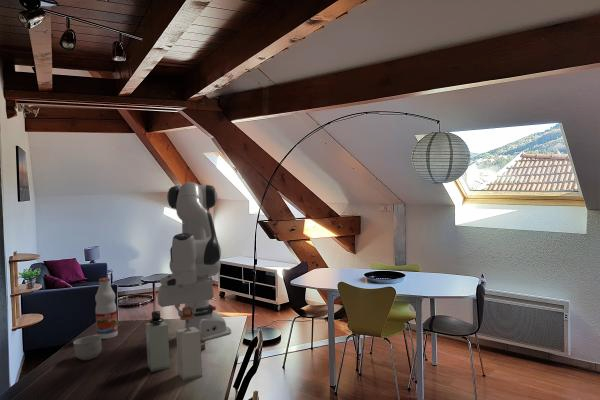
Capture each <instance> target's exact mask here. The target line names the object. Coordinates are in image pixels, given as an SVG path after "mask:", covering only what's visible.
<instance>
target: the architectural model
mask: <svg viewBox="0 0 600 400" xmlns="http://www.w3.org/2000/svg"><path fill="white" fill-rule="evenodd" d="M200 342H201V350H206V345H207V343H206V340H205V339H203V333H200Z"/></svg>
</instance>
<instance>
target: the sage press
mask: <svg viewBox="0 0 600 400" xmlns="http://www.w3.org/2000/svg"><path fill="white" fill-rule="evenodd" d="M145 335H146V336H145V341H146V357H147V358H146V359H147V368H148V369H149V370H150V372H152V373H153V372H157V371H158V372H159V371H161V370H162V371H163V370H167V369H170V368H171V365H170V364H171V363H170V361H171V360H170V344H169V343H170V342H169V325H168V323H167V322H165V321H164V320H163V322H161V323H158V325H155V324H151V323H149V322H148V323H147V322H146V323H145Z"/></svg>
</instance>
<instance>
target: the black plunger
mask: <svg viewBox="0 0 600 400" xmlns="http://www.w3.org/2000/svg"><path fill="white" fill-rule="evenodd" d="M163 321H164V318H163V317H161V311H160V310H155V311H151V319H149V322H148V323H151V324H155V325H158V323H161V322H163Z"/></svg>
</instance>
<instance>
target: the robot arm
mask: <svg viewBox="0 0 600 400" xmlns="http://www.w3.org/2000/svg"><path fill="white" fill-rule="evenodd" d="M166 199H167V203H168V205H169V207H170V208H171V209H175V210H176V215H177V217H178V218H179V220H180V221H181V233H178V234H175V235H174V236H173V237H172V240H171V241H172V242H171V243H172V244H171V247H170V249H169V251H170V252H169V254H170V261H169V269H170V271H171V274H170V273H169V274H168V275H166V276H164V277H161V278H160V279H159V282H160V285H159V288H158V291H157V304H158V306H160V307H161V308H165V307H170V306H174V307H175V309H176V311H177V314H178V317H180V316H183V311H182V309H180V307H181V305H183V304H184V307H191V313H192V314H193V315H194V318H193V319H190V320H189V328H190V327H195V328H197V329H198V330H199V331H200V333H203V339H205V341H209V340H212V339H216V338H220V337H223V336H227V335H230V334H232V329H231V327H229V326H227V323H226V321H225V319H224V317H222V316H221V315H219V314H217V313H216V312H215V311H216V310H217V306H215V305H212V304H210V303H209V301H212V300H213V299H214V289H213V283H214V279H213V276H216V275H218V273H219V272H220V270H221V257H222V248H221V246H220V243H219V241H218V237H217V233H216V229H215V224H214V220H213V217H212V214H211V211H210V209H212V208H213V207H214V206H215V205H216V203H217V200H218V193H217V190H216V188H215V187H214V186H213V185H212V184H211V185H210V184H206V185H205V184H198V183H196V182H194V181H188V182H184V183H182V185H174V186H171V187H170V188H169V189H168V192H167V194H166ZM184 328H186V320H184Z"/></svg>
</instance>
